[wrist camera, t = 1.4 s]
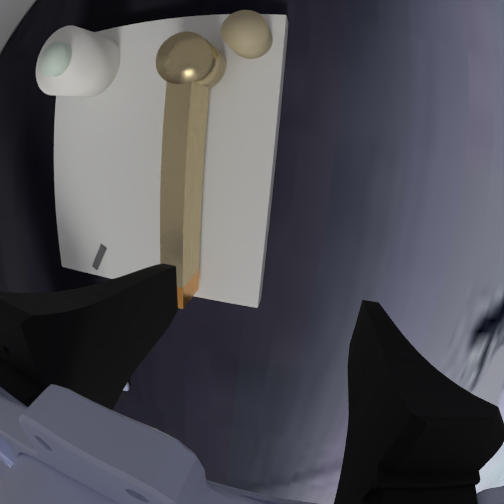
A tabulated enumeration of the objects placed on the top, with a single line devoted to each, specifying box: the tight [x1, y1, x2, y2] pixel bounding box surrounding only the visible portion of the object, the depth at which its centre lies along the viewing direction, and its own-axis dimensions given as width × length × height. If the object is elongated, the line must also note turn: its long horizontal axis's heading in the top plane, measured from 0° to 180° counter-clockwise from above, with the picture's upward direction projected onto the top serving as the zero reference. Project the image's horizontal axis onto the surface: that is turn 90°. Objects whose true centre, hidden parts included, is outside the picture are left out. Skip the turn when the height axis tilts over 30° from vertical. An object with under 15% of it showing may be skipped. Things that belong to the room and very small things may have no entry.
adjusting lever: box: [156, 31, 226, 309], centre depth 19 cm, size 17×3×3 cm, turn 175°
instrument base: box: [36, 10, 288, 308], centre depth 19 cm, size 20×18×6 cm
